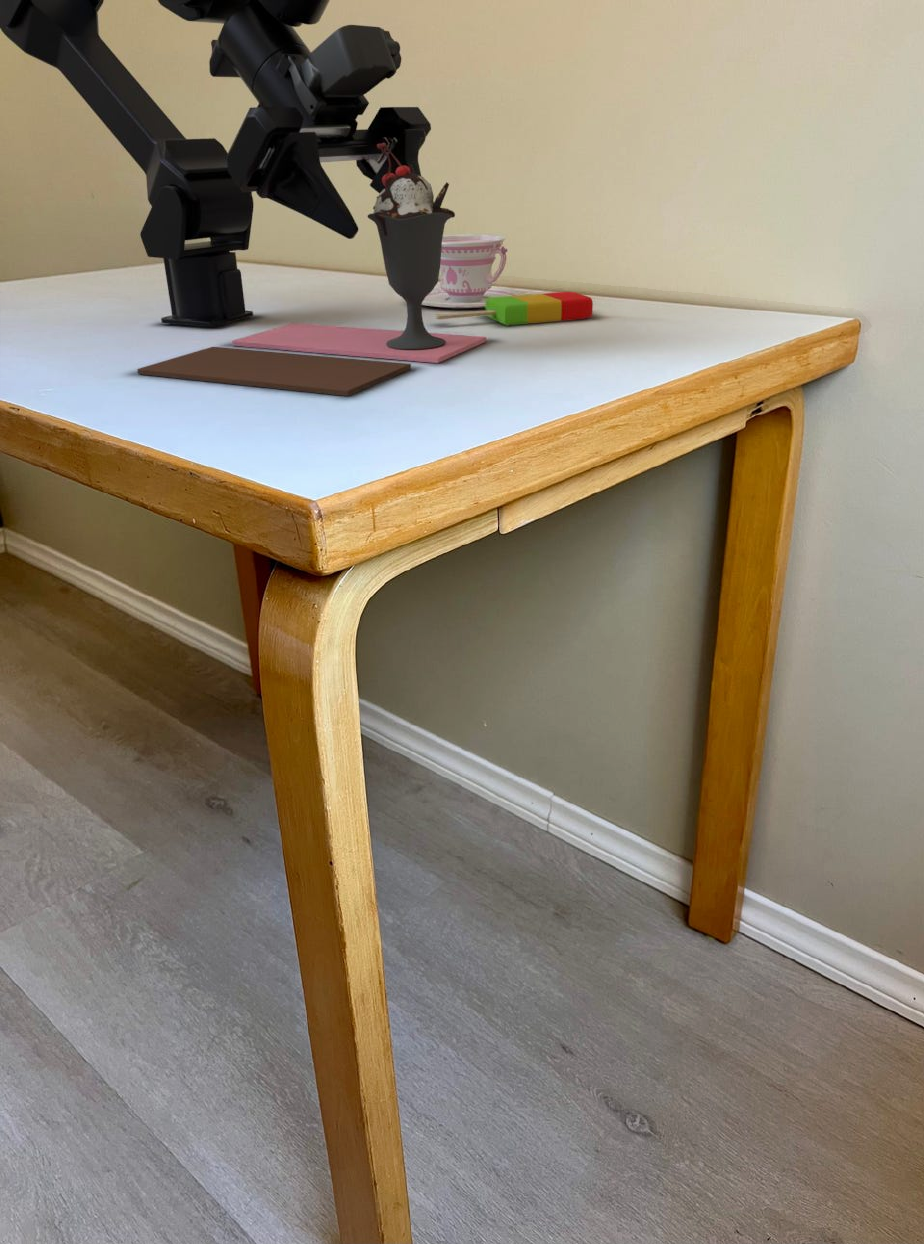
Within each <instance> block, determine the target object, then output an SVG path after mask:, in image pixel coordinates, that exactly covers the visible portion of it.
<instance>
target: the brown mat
mask: <svg viewBox="0 0 924 1244" xmlns="http://www.w3.org/2000/svg"><path fill="white" fill-rule="evenodd" d="M136 369H137V374H138V375H142V376H144V375H145V376H154V377H162V378H169V379H170V378H171V379H182V380H189V381H190V380H191V381H199V382H210V383H218V384H228V385H229V384H230V385H239V386H247V387H256V388H267V389H274V390H275V389H276V390H283V391H285V390H286V391H295V392H304V393H313V394H324V395H330V396H331V395H333V396H340V397H341V396H342V397H349V396H352V395H354V394H357V393H359V392H361V391H364V390H366V389H368V388H370V387H373V386H375V385H377V384H379V383H382V382H384V381H386V380H389V379H391V378H393V377H395V376H398V375H400V374H402V373H405V372H408V371H410V370H411V369H412V364H411V363H404V362H395V361H393V362H392V361H383V360H371V359H360V358H349V357H336V356H326V355H325V356H324V355H314V354H313V355H312V354H303V353H302V354H301V353H292V352H291V353H289V352H278V351H269V350H266V351H265V350H257V349H256V350H254V349H245V348H244V349H243V348H235V347H234V348H233V347H221V346H210V347H207V348H204V349H201V350H198V351H197V350H196V351H193V352H190V353H187V354H183V355H180V356H176V357H173V358H170V359H166V360H163V361H160V362H156V363H153V364H149V365H146V366H143V367H140V368H136Z"/></svg>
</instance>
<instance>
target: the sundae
mask: <svg viewBox="0 0 924 1244" xmlns="http://www.w3.org/2000/svg"><path fill="white" fill-rule="evenodd" d="M383 147H384V148H385V149H386V150H388V151H389V152H390V154H391V155H392V156H393V158H394V159H395V160H396V162H397V163H398V165H399V167H398V168H397V169H396V175H395V174H393V173H391V162H390V158H389V156H388V154H387V153H386V152H385V151H384V150H383ZM377 148H378V149H380V150H381V151H383V152H384V153H385V154H386V156H387V158H388V162H389V170H388V173H387V174H386V175H384V176H383V178H382V182H383V184H384V186H385V188H384V190H383V191H382V192H381V193H380V194H379V193H378V194H377V196H376V200H375V203H374V206H373V207H372V209H373V212H372V213H369V214H368V215H367V218H368V219H369V220H371V221H372V222H374V224H375V225H376V227H377V232H378V237H379V241H380V245H381V246H380V247H381V251H382V252H381V253H382V258H383V264H384V269H385V273H386V276H387V281H388V285H389V286H390V287H391V289H392V290H393V291H394V292H395V293H396V294H397V295H398V296H399V297H401V298H402V299H403V300H404V301H405V303H406V310H407V311H406V312H407V316H406V317H407V318H406V319H407V320H406V325H405V329H404V330H403V331H404V332H403V333H402V335H401V336H399V337H397V338H394V339H391V340H389V341H387V343H386V345H387V346H388V347H390V348H393V349H399V350H425V349H432V348H438V347H441V346H443V345H444V344H445V343H446V341H445V340H444V339H442V338H438V337H434V336H432V335H430V334H429V333H430V332H429V331H428V330H427V328H426V327H425V324H424V320H423V319H424V318H423V305H422V302H423V300H424V299H425V297H426V296H427V295H428V294H429V293H430V292H431V291H432V290H433V289H435V287H436V286H437V285H438V282H439V278H440V277H439V276H440V262H441V248H442V238H443V235H444V232H445V226H446V223H447V221H449V220H450V219H452V218H453V219H454V218H455V217H456V214H455V211H453V210H451V209H449V208H445V207H442V204H443V201H444V199H445V196H446V194H447V192H448V190H449V189H448V188H449V186H450V183H449V182H448V181H447V182H445V184H444V185H443V186H442V188H441V189H440V190H439V192H438V194H437V195H436V197H435V198H434V196H435V195H434V191H433V187H432V184H431V183H430V182H429V181H428V180H427V179H426V178H425V177H424V176H422V175H421V176H420V175H418V174H415V173H411V172H410V168H409V167H407V166H403V165H401V164H400V162H399V161H398V160H397V159H396V157H395V156H394V155H393V154H392V152H391V151H390V150H389V149H388V148H387V147H386V143H382V144H377Z"/></svg>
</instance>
